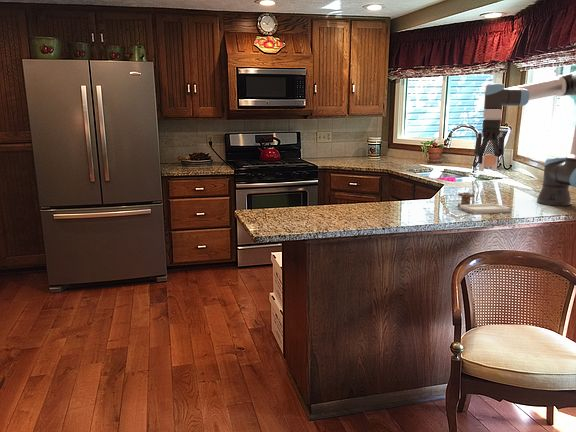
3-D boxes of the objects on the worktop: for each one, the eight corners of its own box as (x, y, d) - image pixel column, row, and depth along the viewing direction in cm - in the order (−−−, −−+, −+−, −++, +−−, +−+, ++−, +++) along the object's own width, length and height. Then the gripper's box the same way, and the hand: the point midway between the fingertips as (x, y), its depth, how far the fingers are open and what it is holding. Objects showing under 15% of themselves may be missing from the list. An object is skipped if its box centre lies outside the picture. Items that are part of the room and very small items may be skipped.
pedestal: (467, 204, 244) (468, 192, 243) (475, 207, 237) (476, 194, 236) (455, 205, 242) (455, 192, 241) (462, 207, 236) (463, 195, 234)
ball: (490, 165, 229) (490, 152, 227) (498, 166, 223) (498, 153, 222) (478, 167, 228) (478, 154, 226) (486, 168, 222) (486, 155, 221)
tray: (495, 207, 237) (495, 203, 236) (510, 212, 225) (511, 208, 225) (459, 208, 233) (459, 204, 233) (472, 213, 222) (473, 209, 221)
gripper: (505, 119, 226) (501, 169, 231) (468, 119, 223) (464, 170, 227) (516, 119, 219) (511, 171, 224) (477, 119, 215) (473, 171, 220)
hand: (487, 170), depth 226 cm, fingers closed on ball, 6 cm apart
